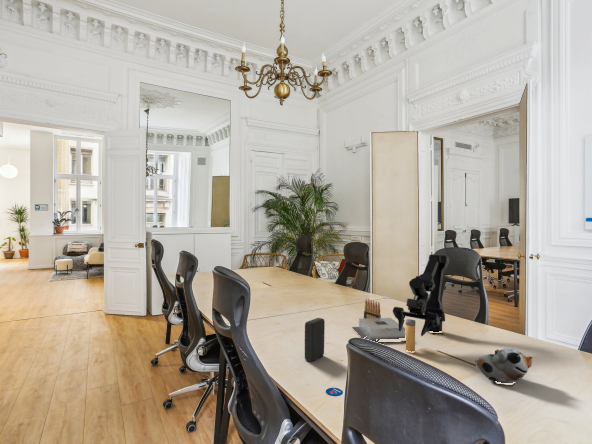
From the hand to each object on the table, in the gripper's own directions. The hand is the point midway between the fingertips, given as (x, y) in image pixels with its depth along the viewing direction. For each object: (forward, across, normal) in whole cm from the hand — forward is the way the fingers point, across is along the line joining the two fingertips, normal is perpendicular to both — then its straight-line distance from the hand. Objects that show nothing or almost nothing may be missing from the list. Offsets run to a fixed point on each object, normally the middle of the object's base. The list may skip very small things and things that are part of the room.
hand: (410, 333), depth 141 cm
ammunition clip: (-15, -31, +26) cm, 43 cm away
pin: (+5, 0, +6) cm, 8 cm away
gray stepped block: (-4, -19, +14) cm, 24 cm away
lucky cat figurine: (+8, +34, +3) cm, 35 cm away
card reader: (+28, -27, -16) cm, 42 cm away
